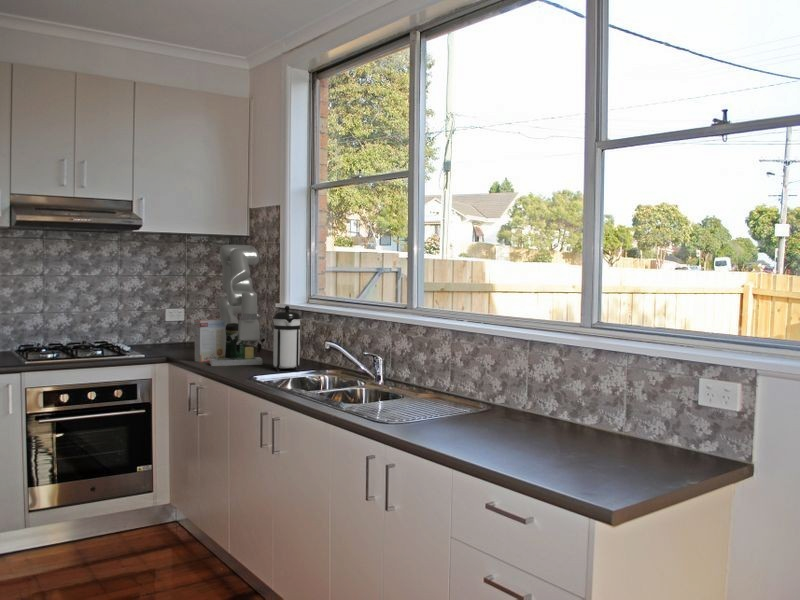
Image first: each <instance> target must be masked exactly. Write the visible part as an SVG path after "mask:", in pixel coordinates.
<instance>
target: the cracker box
mask: <svg viewBox="0 0 800 600" xmlns="http://www.w3.org/2000/svg"><path fill="white" fill-rule="evenodd" d="M193 323H194V325H193V326H194V330H193V331H194V362H196V363H207V362H208V363H210V358H225V320H222V319H220V318H217V319H196V320H194V322H193Z"/></svg>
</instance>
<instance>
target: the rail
mask: <svg viewBox="0 0 800 600" xmlns="http://www.w3.org/2000/svg"><path fill="white" fill-rule="evenodd" d="M209 365H210V366H211V367H219V366H220V367H221V366H253V365H254V366H257V365H263V358H262V357H260V356H257V357H256V356H254V359H244V357H240V358H210V362H209Z"/></svg>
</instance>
